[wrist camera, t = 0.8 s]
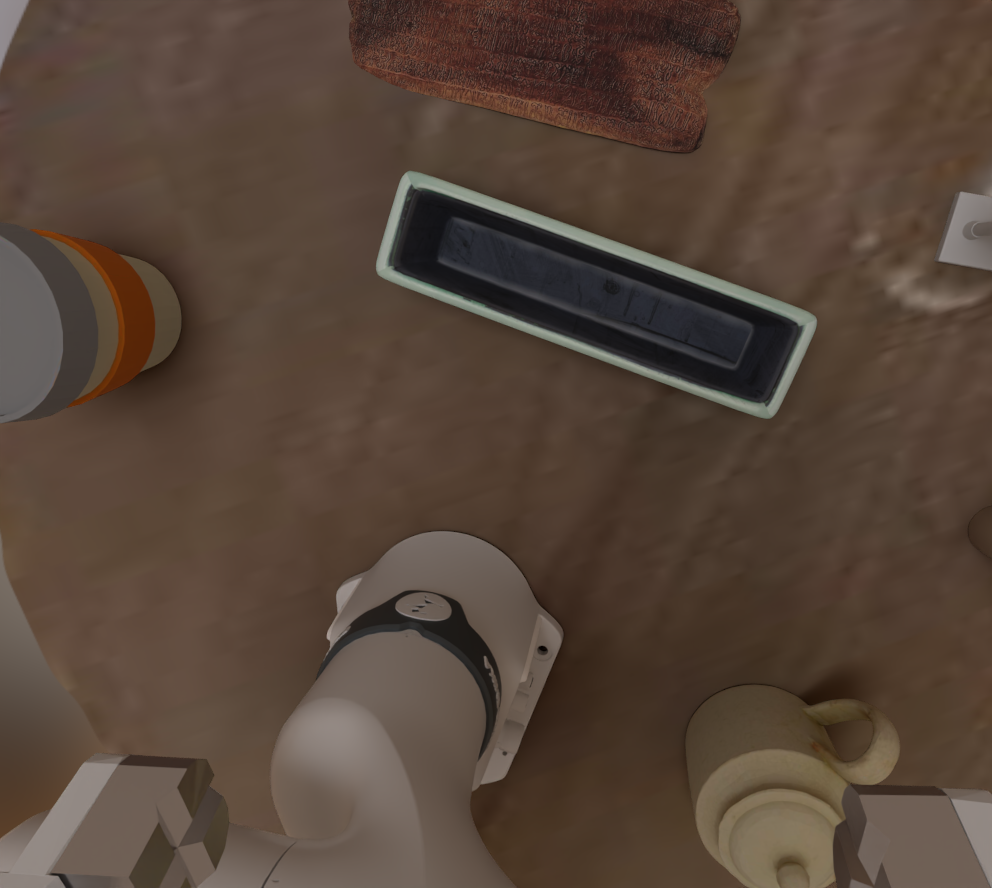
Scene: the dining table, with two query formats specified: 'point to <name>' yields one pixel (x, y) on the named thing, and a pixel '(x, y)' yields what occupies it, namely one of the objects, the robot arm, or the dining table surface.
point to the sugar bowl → (777, 781)
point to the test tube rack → (968, 233)
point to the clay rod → (982, 531)
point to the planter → (594, 295)
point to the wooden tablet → (558, 60)
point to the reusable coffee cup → (75, 321)
